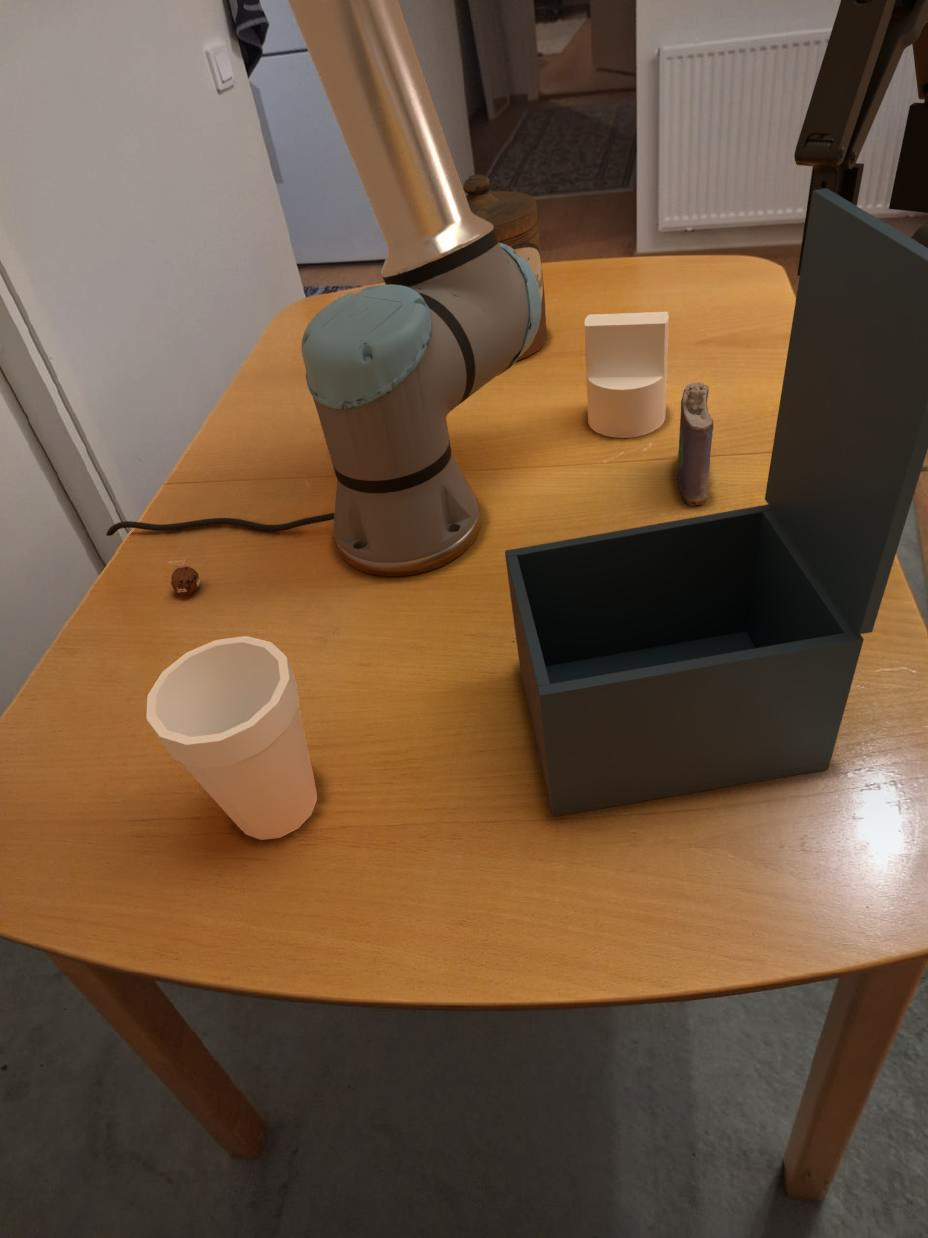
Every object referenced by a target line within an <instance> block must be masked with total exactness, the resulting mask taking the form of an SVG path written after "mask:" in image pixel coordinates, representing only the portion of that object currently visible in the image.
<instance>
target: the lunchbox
mask: <svg viewBox="0 0 928 1238" xmlns="http://www.w3.org/2000/svg"><path fill="white" fill-rule="evenodd" d="M504 555H505V564H506V565H505V566H506V571H507V579H508V586H509V594H510V603H511V608H512V609H511V610H512V618H513V624H514V633H515V640H516V648H517V655H518V662H519V663H518V664H519V671H520V675H521V681H522V684H523V689H524V692H525V693H524V695H525V698H526V702H527V706H528V707H527V708H528V710H529V715H530V720H531V724H532V730H533V734H534V738H535V743H536V747H537V752H538V755H539V760H540V765H541V769H542V773H543V779H544V782H545V788H546V791H547V797H548V800H549V805H550V809H551V814H552V817H558V816H559V817H560V816H566V815H571V814H576V813H583V812H589V811H593V810H594V811H595V810H600V809H605V808H611V807H617V806H623V805H628V804H636V803H641V802H647V801H653V800H659V799H665V798H670V797H676V796H681V795H687V794H693V793H700V792H703V791H710V790H717V789H722V788H728V787H734V786H735V787H736V786H741V785H745V784H752V783H757V782H758V783H759V782H763V781H769V780H774V779H775V780H776V779H780V778H787V777H791V776H792V777H793V776H798V775H804V774H809V773H813V772H814V773H815V772H821V771H828V770H829V769H830V765H831V761H832V759H833V758H832V757H833V754H834V750H835V746H836V743H837V739H838V736H839V732H840V729H841V724H842V720H843V717H844V714H845V710H846V706H847V702H848V699H849V695H850V693H851V689H852V688H851V687H852V684H853V681H854V677H855V673H856V671H857V666H858V663H859V659H860V656H861V651H862V647H863V644H864V637H863V636H862V634H859V633H858V632H857V630H856V629H855V628H854V626H853V625H852V623H851V622H850V620H849V619H848V618H847V616H846V615H845V613H844V612H843V610H842V609H841V608H840V606H839V605H838V603H837V602H836V600H835V599H834V598H833V596H832V595H831V593H830V592H829V590H828V589H827V588H826V586H825V585H824V583H823V582H822V580H821V579H820V578H819V576H818V575H817V573H816V572H815V570H814V569H813V568H812V566H811V565H810V563H809V562H808V560H807V559H806V558H805V556H804V555H803V553H802V552H801V550H800V549H799V548H798V546H797V545H796V543H795V542H794V540H793V539H792V538H791V536H790V535H789V533H788V532H787V530H786V529H785V528H784V526H783V525H782V523H781V522H780V520H779V519H778V518H777V516H776V515H775V513H774V512H773V510H772V509H771V508H770V506H769V505H768V503H767V504H762V505H756V506H751V507H744V508H740V509H739V508H738V509H734V510H729V511H722V512H717V513H712V514H706V515H700V516H694V517H687V518H683V519H677V520H672V521H665V522H660V523H654V524H648V525H643V526H642V525H641V526H637V527H632V528H626V529H619V530H615V531H609V532H604V533H598V534H592V535H586V536H580V537H574V538H569V539H564V540H558V541H551V542H547V543H541V544H535V545H529V546H523V547H519V548H512V549H507V550H505V551H504Z"/></svg>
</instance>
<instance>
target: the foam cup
mask: <svg viewBox="0 0 928 1238" xmlns="http://www.w3.org/2000/svg"><path fill="white" fill-rule="evenodd" d="M292 669H293V668H292V666H291V664H290V662H289V660H288V657H287V655H285V654H284V653H283V652H282V650H280V649H279V648H278V647H277V646H276V645H275V644H274V643H273V642H272V641H268V640H264V639H259V638H257V637H252V636H248V635H244V636H236V637H235V636H234V637H228V638H227V637H226V638H219V639H215V640H212V641H210V642H208V643H205V644H203V645H200V646H198V647H196V648H193V649H192V650H189V651H187V652H185V653H184V654H183V655H182V656H180V657H179V658H177V660H175V661H174V662H172V663H171V664H170V665H169V666H168V667H166V668H165V669H164V670H162V672H161V673H160V675H159V676H158V678H157V680H156V681H155V683H154V684H153V686H152V688H151V689H150V691H149V692H148V694H147V697H146V698H147V699H146V715H145V717H146V720H147V722H148V724H149V726H150V728H151V729H152V731H153V732H154V734H155V735H156V737H157V738H158V741H159V742H160V743H161V744H162V746H163V748H164V749H165V750H166V751H167V752H168V754H169V755H170V756H171V758H172V759H173V760H174V761H176V762H179V763H180V764H182V766H183V767H184V768H185V769H186V771H188V773H190V775H191V776H192V777H193V778H194V779H195V780H196V782H197V783H198V784H199V785H200V786H201V787H202V788H203V789H204V790H205V791H206V792H207V794H208V795H209V796H210V797H211V798H212V799H213V800H214V801H215V803H216V804H217V805H218V806H219V807H220V809H222V811H223V812H224V813H225V814H226V815H227V816H228V817H229V819H231V821H232V822H233V823H234V824H235V825H236V826H237V827H238V829H240V830H241V831H242V832H243V833H244V835H245V836H249V837H252V838H254V839H257V840H260V841H263V840H273V839H280V838H282V837H284V836H287V835H288V834H290V833H292V832H295V831H296V830H299V828H301V826H302V825H303V824H304V823H305V822H306V821H307V820H308V819H309V818H310V817H311V816H312V815H313V812H314V809H315V806H316V804H317V801H318V794H317V788H316V787H317V786H316V781H315V780H316V779H315V776H314V771H313V767H312V762H311V761H312V760H311V757H310V753H309V747H308V743H307V742H308V741H307V739H306V734H305V729H304V725H303V720H302V716H301V715H302V714H301V711H300V706H299V705H300V698H299V690H298V684H297V683H298V682H297V679H296V676H295V674H294V672H293V670H292Z"/></svg>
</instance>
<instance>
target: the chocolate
mask: <svg viewBox="0 0 928 1238" xmlns="http://www.w3.org/2000/svg"><path fill="white" fill-rule="evenodd" d="M186 562H187V559H186V558H184V559H182V560H174V561H171V560H170V561H168V564H169V565H171V566H172V567H175V569H174V571H173V572H172V573H171V580H170V586H171V589H173V591H174V592H176V593H178V594H181V595H189V594H193V593H194V592H196V591H197V590H198V589H199V586H200V584H201V578H200V575H199V573H198V571H197V570H196V569H195V568H193V567H191V566H187V564H186Z"/></svg>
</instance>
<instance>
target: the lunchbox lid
mask: <svg viewBox="0 0 928 1238" xmlns="http://www.w3.org/2000/svg"><path fill="white" fill-rule="evenodd" d="M798 277H799V278H798V284H797V290H796V291H797V292H796V297H795V303H794V308H793V316H792V323H791V329H790V333H789V334H790V336H789V341H788V348H787V352H786V353H787V354H786V360H785V367H784V373H783V380H782V386H781V392H780V399H779V406H778V412H777V419H776V424H775V431H774V436H773V444H772V449H771V450H772V451H771V457H770V463H769V470H768V475H767V481H766V489H765V495H764V501H765V502H766V503H767V504H768V505H769V506H770V508H771V509H772V510H773V512H774V513H775V515H776V516H777V518H778V519H779V520H780V522H781V523H782V525H783V526H784V528H785V529H786V530H787V532H788V533H789V535H790V536H791V538H792V539H793V540H794V542H795V543H796V545H797V546H798V548H799V549H800V550H801V552H802V553H803V555H804V556H805V558H806V559H807V560H808V562H809V563H810V565H811V566H812V568H813V569H814V570H815V572H816V573H817V575H818V576H819V578H820V579H821V580H822V582H823V583H824V585H825V586H826V588H827V589H828V590H829V592H830V593H831V595H832V596H833V598H834V599H835V600H836V602H837V603H838V605H839V606H840V608H841V609H842V610H843V612H844V613H845V615H846V616H847V618H848V619H849V620H850V622H851V623H852V625H853V626H854V628H855V629H856V630H857V632H858V633H859V634H861V635H864V634H870V633H873V631H874V628H875V624H876V621H877V617H878V614H879V610H880V607H881V605H882V601H883V599H884V594H885V591H886V588H887V584H888V581H889V578H890V575H891V571H892V568H893V565H894V561H895V558H896V555H897V551H898V548H899V546H900V541H901V538H902V535H903V533H904V528H905V525H906V523H907V518H908V515H909V512H910V508H911V506H912V502H913V499H914V495H915V492H916V489H917V486H918V482H919V479H920V477H921V476H920V475H921V473H922V469H923V466H924V462H925V460H926V456H927V453H928V222H925V223H924V224H922V225H921V226H919V227H918V228H917V229H916V230H915V231H914V233H913V234H912V235H911V237H910V236H908V235H907V234H904V233H903V232H902V231H900V230H898V229H897V228H895V227H893V226H891V225H889V224H887V223H886V222H884V221H883V220H881V219H879V218H878V217H876V216H874V215H872V214H871V213H869V212H867V211H866V210H864V209H862V208H861V207H859V206H858V205H857V206H856V205H854V204H852V203H851V202H849V201H847V200H845V199H844V198H842V197H840V196H839V195H837V194H835V193H834V192H832V191H830V190H829V189H827V188H825V189H819V190H814V191H813V194H812V200H811V207H810V213H809V219H808V226H807V232H806V238H805V245H804V251H803V258H802V264H801V270H800V276H798Z"/></svg>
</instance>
